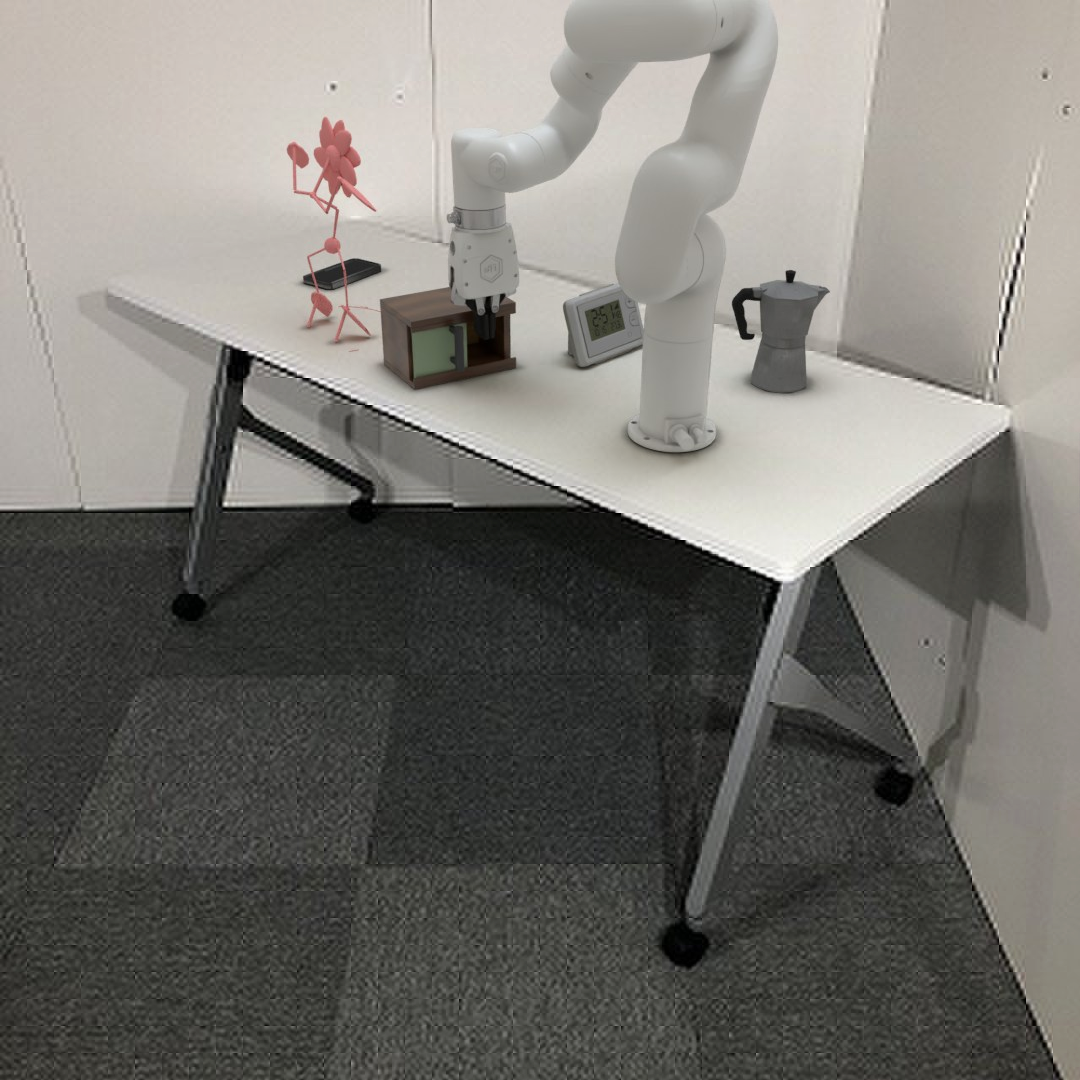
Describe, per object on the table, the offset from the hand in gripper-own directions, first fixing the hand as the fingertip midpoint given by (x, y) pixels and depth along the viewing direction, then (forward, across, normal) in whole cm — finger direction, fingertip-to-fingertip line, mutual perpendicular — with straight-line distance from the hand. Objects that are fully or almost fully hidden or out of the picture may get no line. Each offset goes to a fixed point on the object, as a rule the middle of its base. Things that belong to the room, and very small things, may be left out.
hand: (485, 336), depth 185 cm
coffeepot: (+9, +39, -22) cm, 46 cm away
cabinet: (+7, -2, +10) cm, 12 cm away
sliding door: (+6, -6, +2) cm, 9 cm away
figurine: (+7, -9, +33) cm, 35 cm away
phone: (+6, 0, +60) cm, 60 cm away
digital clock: (+8, +22, +1) cm, 24 cm away
